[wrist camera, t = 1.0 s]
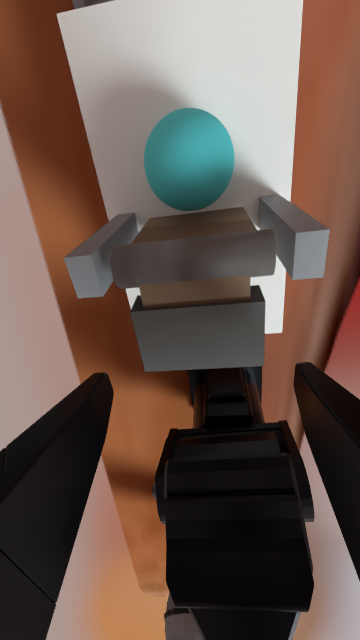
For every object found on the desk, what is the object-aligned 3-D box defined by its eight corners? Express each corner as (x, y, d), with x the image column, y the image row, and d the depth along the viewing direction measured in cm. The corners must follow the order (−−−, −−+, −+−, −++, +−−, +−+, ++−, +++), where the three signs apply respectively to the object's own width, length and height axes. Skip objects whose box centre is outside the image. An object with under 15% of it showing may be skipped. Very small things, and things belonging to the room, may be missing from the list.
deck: (271, 307, 22) (317, 419, 13) (147, 316, 24) (111, 424, 15) (284, -3, 14) (440, -294, 5) (86, 39, 15) (-99, -121, 6)
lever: (249, 292, 17) (271, 365, 12) (159, 299, 18) (138, 372, 12) (248, 199, 15) (276, 236, 9) (143, 213, 15) (106, 254, 10)
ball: (232, 198, 15) (240, 213, 12) (158, 207, 16) (145, 224, 12) (229, 105, 13) (237, 92, 10) (144, 119, 14) (124, 111, 10)
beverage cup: (169, 482, 37) (138, 776, 20) (226, 480, 35) (246, 792, 18) (180, 511, 40) (162, 780, 23) (232, 510, 39) (253, 793, 22)
